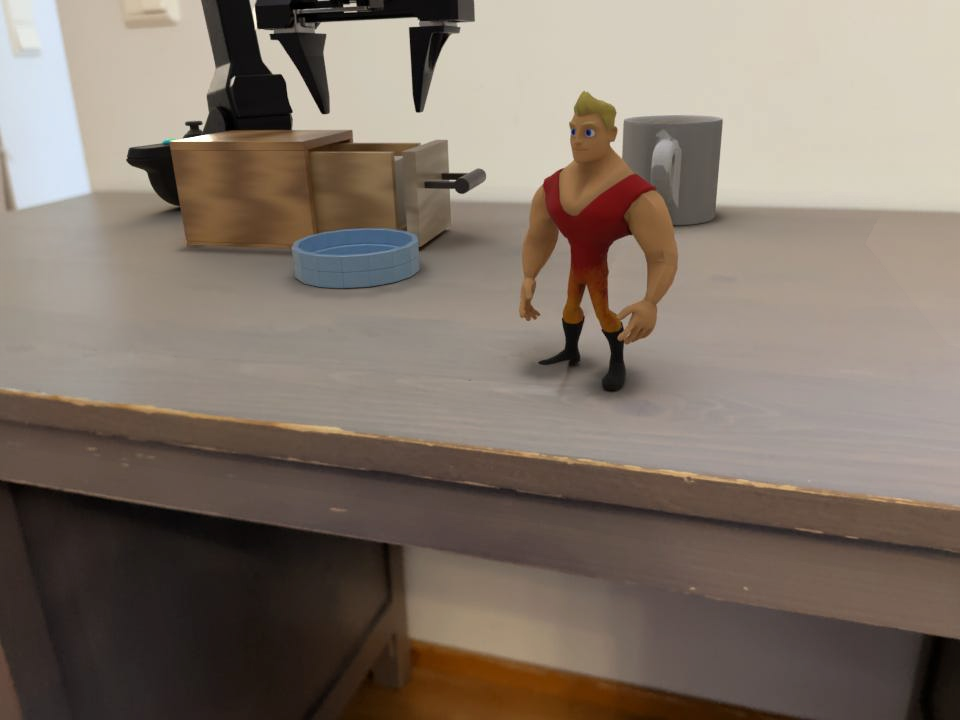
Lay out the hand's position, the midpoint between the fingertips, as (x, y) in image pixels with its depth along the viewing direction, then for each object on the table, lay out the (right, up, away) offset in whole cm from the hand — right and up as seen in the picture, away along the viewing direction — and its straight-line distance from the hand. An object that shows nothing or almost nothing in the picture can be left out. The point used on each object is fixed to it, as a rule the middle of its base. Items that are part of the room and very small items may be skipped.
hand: (371, 113), depth 71 cm
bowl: (0, -16, -7) cm, 17 cm away
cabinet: (-10, -10, +7) cm, 16 cm away
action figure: (+16, -24, -27) cm, 39 cm away
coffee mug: (+29, -8, +11) cm, 32 cm away
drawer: (+2, -10, +4) cm, 11 cm away
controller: (-27, -4, +26) cm, 38 cm away
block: (+1, -9, +4) cm, 10 cm away
